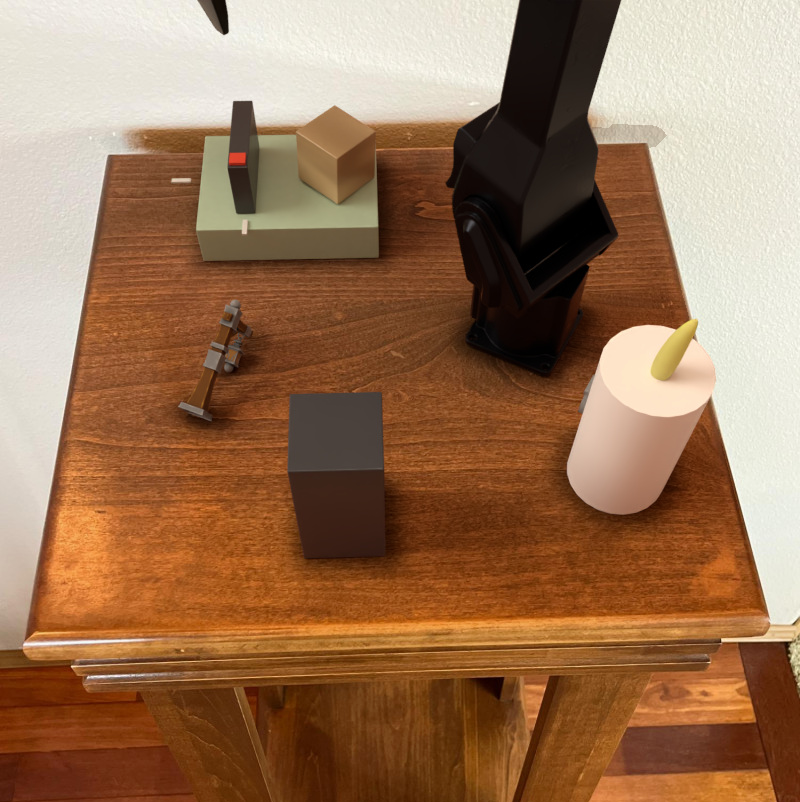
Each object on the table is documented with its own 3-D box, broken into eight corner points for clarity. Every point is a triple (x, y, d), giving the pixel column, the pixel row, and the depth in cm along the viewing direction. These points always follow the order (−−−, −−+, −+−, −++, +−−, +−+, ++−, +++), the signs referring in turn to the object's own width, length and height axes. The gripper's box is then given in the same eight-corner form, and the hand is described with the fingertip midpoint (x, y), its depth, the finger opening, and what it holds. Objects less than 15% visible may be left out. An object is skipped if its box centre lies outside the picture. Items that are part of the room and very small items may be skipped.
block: (335, 151, 68) (334, 104, 64) (374, 177, 67) (376, 131, 63) (298, 178, 66) (295, 131, 63) (337, 205, 65) (337, 158, 62)
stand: (383, 486, 58) (381, 391, 49) (385, 556, 55) (384, 469, 46) (305, 488, 57) (289, 393, 49) (303, 558, 55) (287, 471, 46)
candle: (585, 416, 60) (639, 248, 47) (678, 455, 59) (760, 293, 46) (548, 488, 58) (594, 331, 44) (644, 530, 56) (721, 381, 43)
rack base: (375, 160, 72) (375, 125, 69) (379, 263, 67) (378, 231, 64) (186, 163, 72) (177, 129, 69) (174, 268, 66) (164, 235, 64)
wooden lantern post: (266, 322, 63) (245, 299, 58) (225, 429, 62) (201, 414, 58) (243, 315, 63) (220, 291, 59) (201, 421, 63) (176, 405, 58)
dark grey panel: (241, 147, 68) (232, 97, 64) (259, 147, 68) (252, 97, 64) (236, 213, 65) (226, 164, 61) (255, 213, 65) (247, 164, 61)
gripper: (195, -168, 42) (243, 123, 56) (473, -289, 48) (454, 0, 62) (60, -252, 46) (136, 40, 60) (335, -355, 52) (346, -68, 66)
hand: (275, 3), depth 62 cm, fingers open, 9 cm apart
